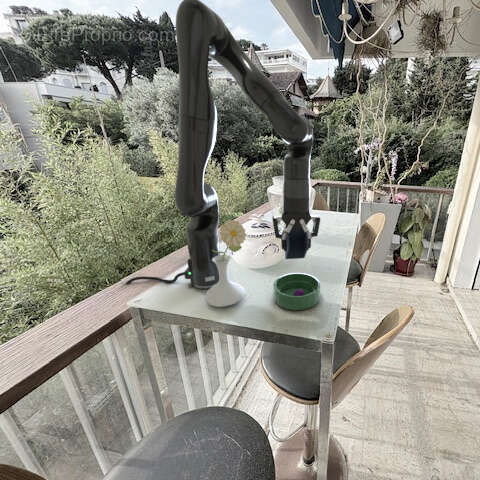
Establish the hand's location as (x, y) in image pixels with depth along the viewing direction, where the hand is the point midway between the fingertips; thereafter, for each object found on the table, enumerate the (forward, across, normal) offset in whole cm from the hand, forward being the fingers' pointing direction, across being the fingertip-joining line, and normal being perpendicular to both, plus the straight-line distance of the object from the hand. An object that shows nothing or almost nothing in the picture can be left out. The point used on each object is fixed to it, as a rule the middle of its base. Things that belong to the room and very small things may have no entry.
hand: (296, 249), depth 80 cm
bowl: (+16, 0, -2) cm, 16 cm away
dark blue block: (+2, 0, +4) cm, 5 cm away
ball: (+13, 0, -4) cm, 14 cm away
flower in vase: (+16, -21, +1) cm, 26 cm away
